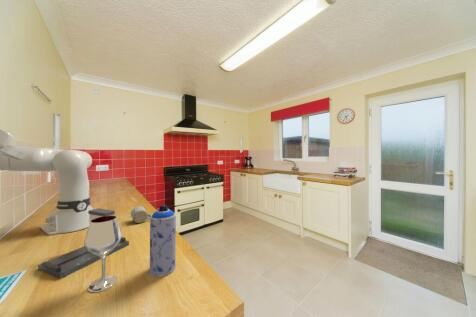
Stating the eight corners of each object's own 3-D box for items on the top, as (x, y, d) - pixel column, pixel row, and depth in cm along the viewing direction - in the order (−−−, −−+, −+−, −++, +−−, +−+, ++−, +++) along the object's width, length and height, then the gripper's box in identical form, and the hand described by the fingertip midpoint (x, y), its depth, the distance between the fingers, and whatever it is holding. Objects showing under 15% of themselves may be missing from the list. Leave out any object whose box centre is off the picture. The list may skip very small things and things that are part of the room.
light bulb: (133, 225, 89) (133, 210, 89) (130, 220, 95) (130, 207, 95) (154, 221, 96) (155, 207, 96) (151, 217, 102) (151, 204, 102)
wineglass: (98, 274, 51) (99, 214, 51) (127, 273, 52) (127, 213, 52) (74, 296, 43) (75, 225, 43) (109, 294, 44) (109, 224, 44)
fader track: (37, 269, 53) (37, 261, 53) (108, 239, 73) (108, 234, 73) (60, 279, 49) (60, 270, 49) (129, 244, 69) (129, 238, 69)
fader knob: (88, 245, 65) (88, 210, 65) (98, 241, 68) (98, 208, 68) (104, 250, 61) (105, 213, 62) (114, 245, 65) (114, 210, 65)
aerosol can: (150, 264, 56) (150, 203, 56) (175, 259, 59) (176, 201, 59) (147, 280, 49) (148, 210, 49) (176, 273, 52) (176, 207, 52)
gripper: (-77, 144, 41) (5, 170, 51) (-73, 126, 32) (26, 163, 42) (-51, 124, 45) (22, 153, 55) (-40, 103, 35) (45, 142, 45)
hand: (24, 157), depth 48 cm, fingers closed
